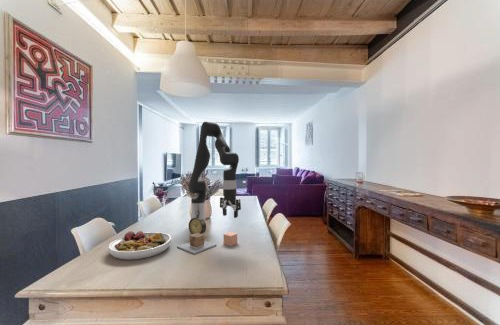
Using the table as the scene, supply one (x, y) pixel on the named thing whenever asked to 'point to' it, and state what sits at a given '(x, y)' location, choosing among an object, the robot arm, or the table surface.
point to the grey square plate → (198, 249)
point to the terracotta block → (230, 238)
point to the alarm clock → (197, 225)
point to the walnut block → (196, 240)
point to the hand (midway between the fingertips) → (230, 216)
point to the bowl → (139, 245)
